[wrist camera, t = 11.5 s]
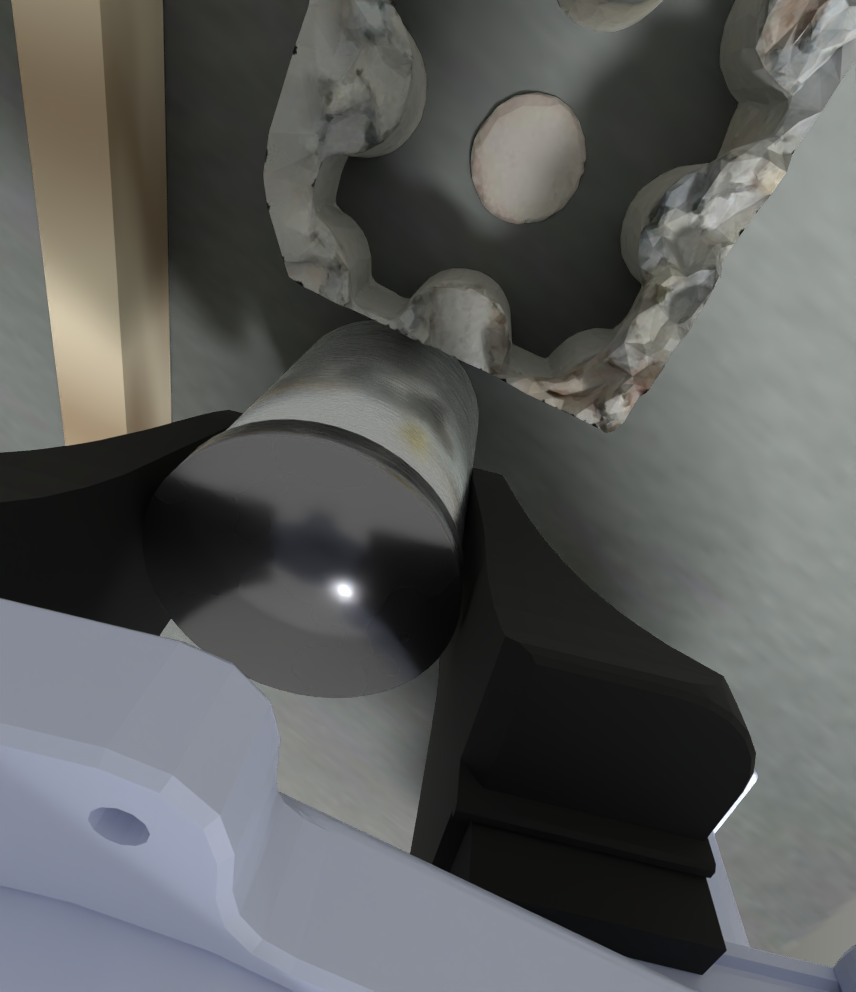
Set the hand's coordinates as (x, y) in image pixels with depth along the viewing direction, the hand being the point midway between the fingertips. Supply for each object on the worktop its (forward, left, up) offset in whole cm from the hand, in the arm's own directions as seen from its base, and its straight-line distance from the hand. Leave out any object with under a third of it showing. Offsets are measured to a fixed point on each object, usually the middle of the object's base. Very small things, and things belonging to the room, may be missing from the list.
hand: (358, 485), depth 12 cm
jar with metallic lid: (+1, 0, -2) cm, 2 cm away
